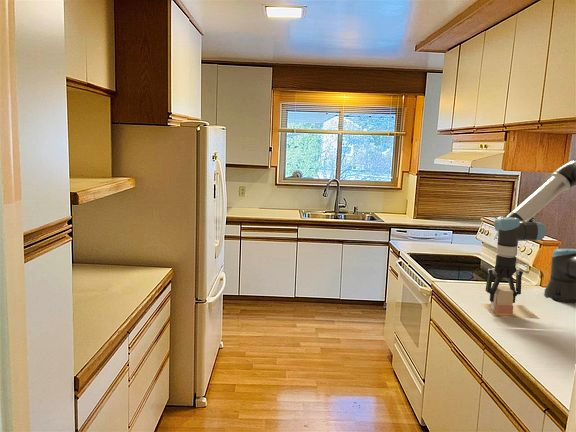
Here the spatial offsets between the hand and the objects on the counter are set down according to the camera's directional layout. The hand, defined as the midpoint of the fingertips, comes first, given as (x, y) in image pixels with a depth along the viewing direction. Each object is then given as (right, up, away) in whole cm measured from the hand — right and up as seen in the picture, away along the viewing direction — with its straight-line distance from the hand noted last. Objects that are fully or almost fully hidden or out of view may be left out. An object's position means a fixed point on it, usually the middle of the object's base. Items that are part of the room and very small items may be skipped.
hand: (501, 309), depth 198 cm
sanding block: (0, -1, 0) cm, 1 cm away
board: (+4, -1, +2) cm, 5 cm away
